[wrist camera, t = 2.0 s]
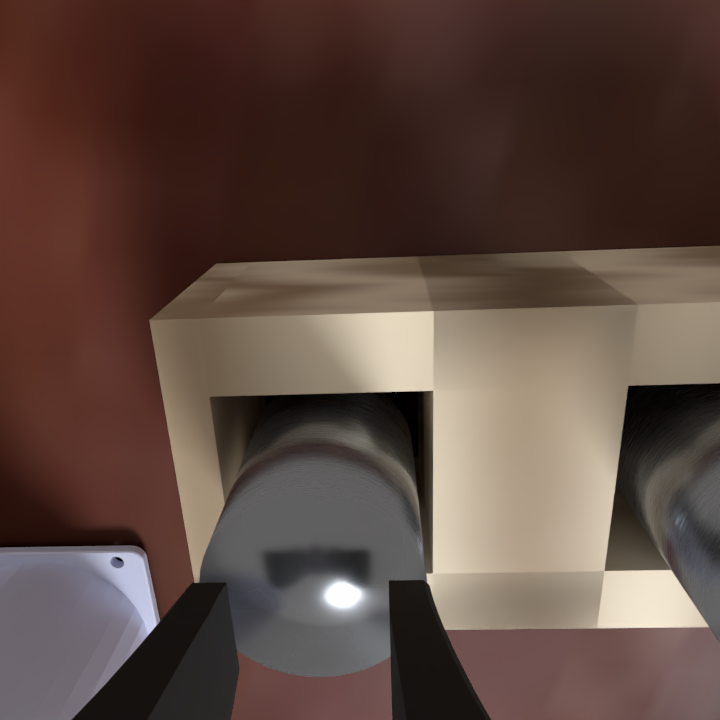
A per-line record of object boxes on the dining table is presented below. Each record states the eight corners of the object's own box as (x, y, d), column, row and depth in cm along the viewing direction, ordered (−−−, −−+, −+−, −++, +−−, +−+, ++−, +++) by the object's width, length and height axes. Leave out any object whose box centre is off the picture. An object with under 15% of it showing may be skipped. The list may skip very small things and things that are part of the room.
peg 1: (262, 515, 18) (214, 677, 13) (246, 377, 16) (183, 496, 11) (412, 512, 18) (427, 675, 12) (411, 372, 16) (427, 491, 11)
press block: (247, 505, 22) (203, 632, 17) (216, 263, 19) (149, 319, 13) (718, 496, 22) (838, 625, 16) (770, 244, 18) (941, 295, 13)
